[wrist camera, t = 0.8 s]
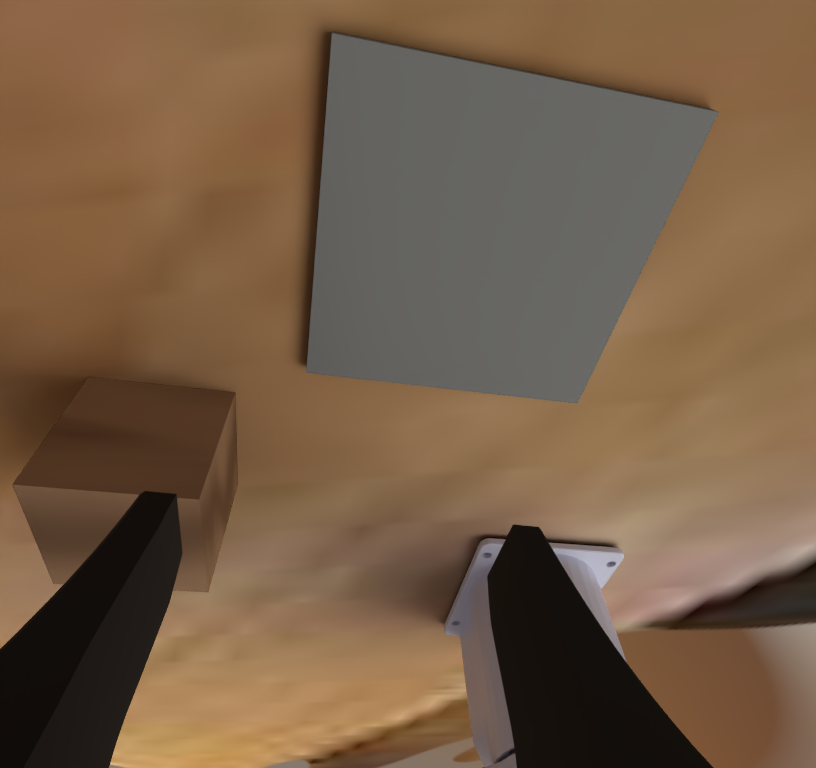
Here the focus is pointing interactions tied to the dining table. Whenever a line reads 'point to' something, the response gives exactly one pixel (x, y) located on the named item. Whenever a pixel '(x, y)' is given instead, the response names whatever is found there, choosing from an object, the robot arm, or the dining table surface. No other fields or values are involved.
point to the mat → (483, 219)
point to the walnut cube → (133, 472)
